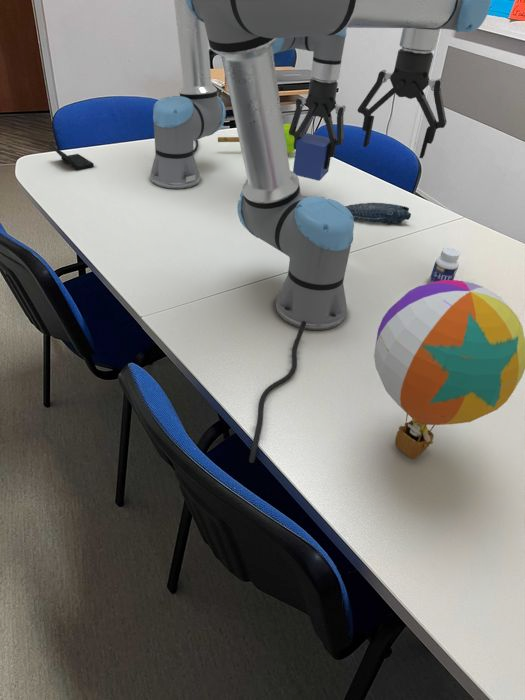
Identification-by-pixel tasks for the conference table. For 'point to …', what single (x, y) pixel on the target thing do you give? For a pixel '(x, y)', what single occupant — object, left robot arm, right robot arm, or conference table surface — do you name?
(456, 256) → the pill bottle
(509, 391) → the toy
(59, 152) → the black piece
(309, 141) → the block
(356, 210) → the fish model
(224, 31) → the right robot arm
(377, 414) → the conference table surface
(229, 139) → the decorative tree
